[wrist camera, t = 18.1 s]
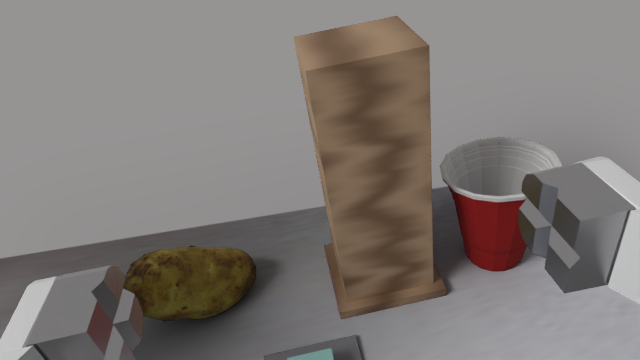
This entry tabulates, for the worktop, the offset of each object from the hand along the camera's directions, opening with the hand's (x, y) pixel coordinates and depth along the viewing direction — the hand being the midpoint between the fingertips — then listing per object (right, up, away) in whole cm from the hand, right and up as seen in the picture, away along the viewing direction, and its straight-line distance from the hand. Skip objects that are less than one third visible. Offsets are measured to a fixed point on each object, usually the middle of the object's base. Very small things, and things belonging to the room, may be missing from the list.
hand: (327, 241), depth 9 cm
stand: (+7, -9, +42) cm, 43 cm away
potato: (-13, -13, +42) cm, 46 cm away
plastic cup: (+19, -7, +42) cm, 46 cm away
